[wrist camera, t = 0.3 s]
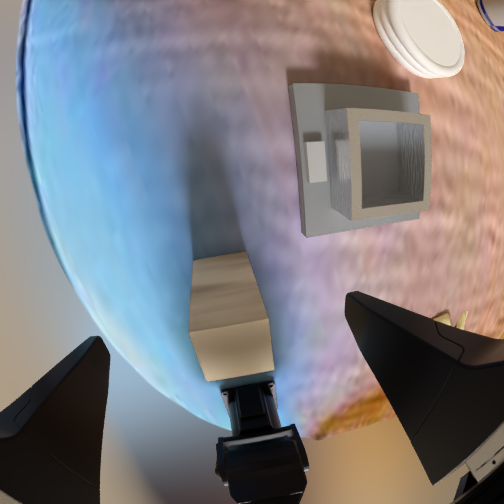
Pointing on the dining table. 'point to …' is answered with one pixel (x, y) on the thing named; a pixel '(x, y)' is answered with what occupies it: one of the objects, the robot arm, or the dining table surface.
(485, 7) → the beverage can
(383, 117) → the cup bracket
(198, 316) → the wooden block
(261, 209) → the dining table surface
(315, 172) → the plate
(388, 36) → the white thick disc
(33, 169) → the dining table surface
